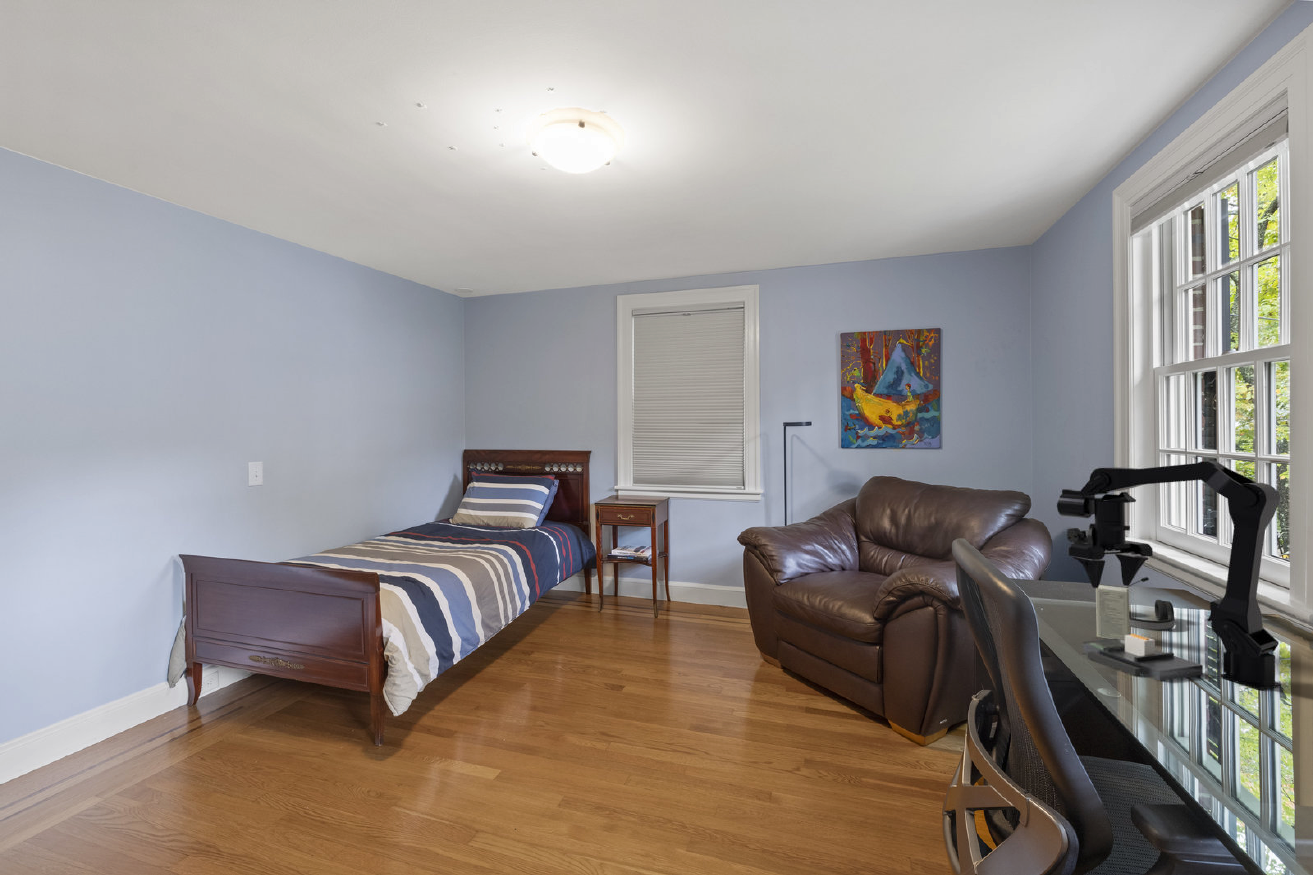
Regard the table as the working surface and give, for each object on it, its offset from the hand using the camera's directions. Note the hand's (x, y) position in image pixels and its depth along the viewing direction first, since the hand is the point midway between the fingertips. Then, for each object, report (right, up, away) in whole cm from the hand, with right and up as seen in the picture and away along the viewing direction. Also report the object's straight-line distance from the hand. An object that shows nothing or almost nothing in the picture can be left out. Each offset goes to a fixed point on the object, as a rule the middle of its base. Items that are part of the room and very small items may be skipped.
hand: (1110, 586), depth 139 cm
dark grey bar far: (-4, -14, -2) cm, 14 cm away
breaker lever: (-3, -11, -12) cm, 17 cm away
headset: (+23, -14, +19) cm, 33 cm away
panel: (-3, -13, -12) cm, 18 cm away
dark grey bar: (-10, -13, -14) cm, 22 cm away
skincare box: (+4, -14, +4) cm, 15 cm away
